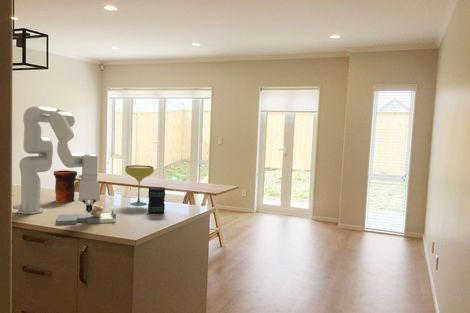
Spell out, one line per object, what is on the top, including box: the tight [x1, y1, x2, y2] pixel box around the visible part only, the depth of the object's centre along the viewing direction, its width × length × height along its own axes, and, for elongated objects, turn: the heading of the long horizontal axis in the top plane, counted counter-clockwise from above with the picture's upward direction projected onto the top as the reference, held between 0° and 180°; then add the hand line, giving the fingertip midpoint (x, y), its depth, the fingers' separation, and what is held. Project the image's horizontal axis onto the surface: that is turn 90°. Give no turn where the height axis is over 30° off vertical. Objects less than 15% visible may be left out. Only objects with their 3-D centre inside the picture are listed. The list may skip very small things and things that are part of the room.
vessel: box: [53, 169, 78, 203], centre depth 250 cm, size 14×14×20 cm
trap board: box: [56, 208, 117, 226], centre depth 200 cm, size 28×14×4 cm, turn 113°
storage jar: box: [147, 186, 166, 215], centre depth 226 cm, size 10×10×15 cm
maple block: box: [89, 203, 104, 218], centre depth 201 cm, size 5×5×5 cm
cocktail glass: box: [125, 164, 154, 207], centre depth 250 cm, size 18×18×25 cm
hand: (89, 212), depth 200 cm, fingers closed
